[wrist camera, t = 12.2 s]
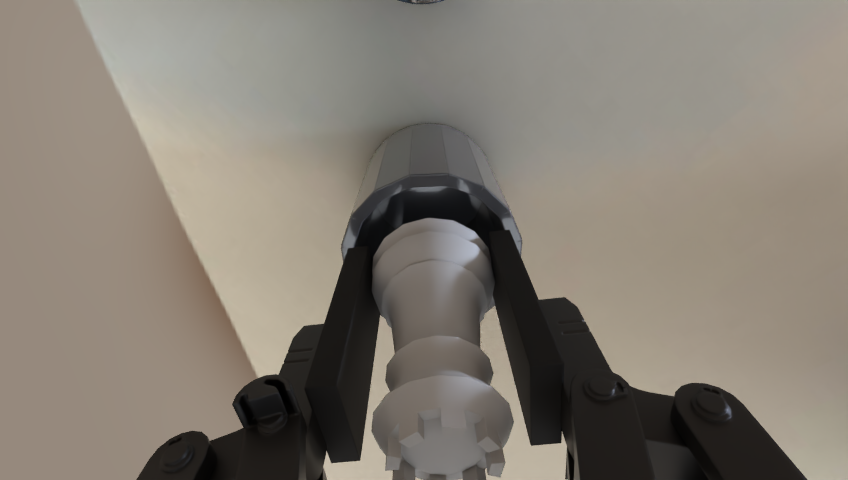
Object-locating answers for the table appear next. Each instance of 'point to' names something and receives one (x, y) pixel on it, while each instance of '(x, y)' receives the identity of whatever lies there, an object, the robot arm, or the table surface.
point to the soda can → (421, 1)
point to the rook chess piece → (438, 355)
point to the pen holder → (428, 188)
